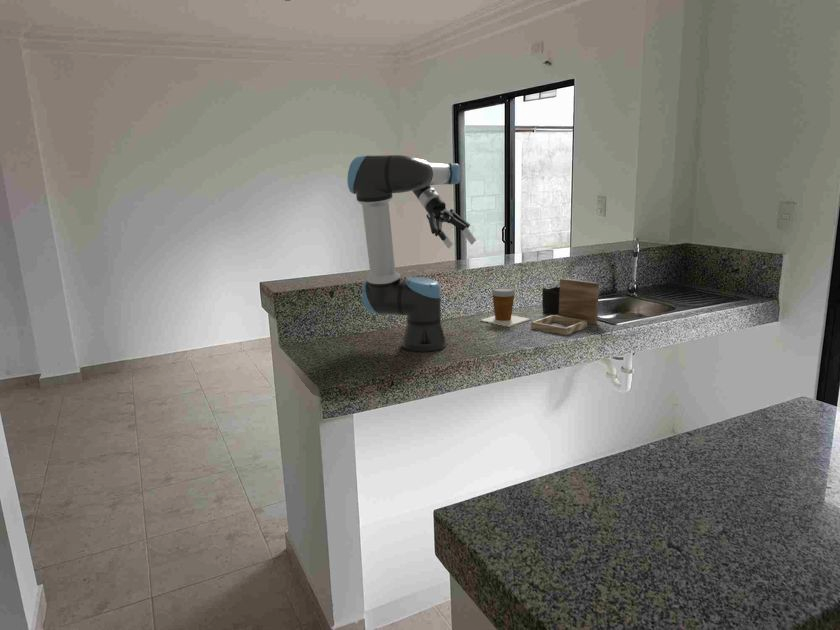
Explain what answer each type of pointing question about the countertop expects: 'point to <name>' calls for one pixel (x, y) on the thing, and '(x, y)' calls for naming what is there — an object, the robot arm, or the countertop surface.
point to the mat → (508, 323)
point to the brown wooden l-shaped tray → (572, 307)
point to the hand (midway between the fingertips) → (462, 244)
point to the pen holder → (550, 300)
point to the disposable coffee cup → (503, 302)
